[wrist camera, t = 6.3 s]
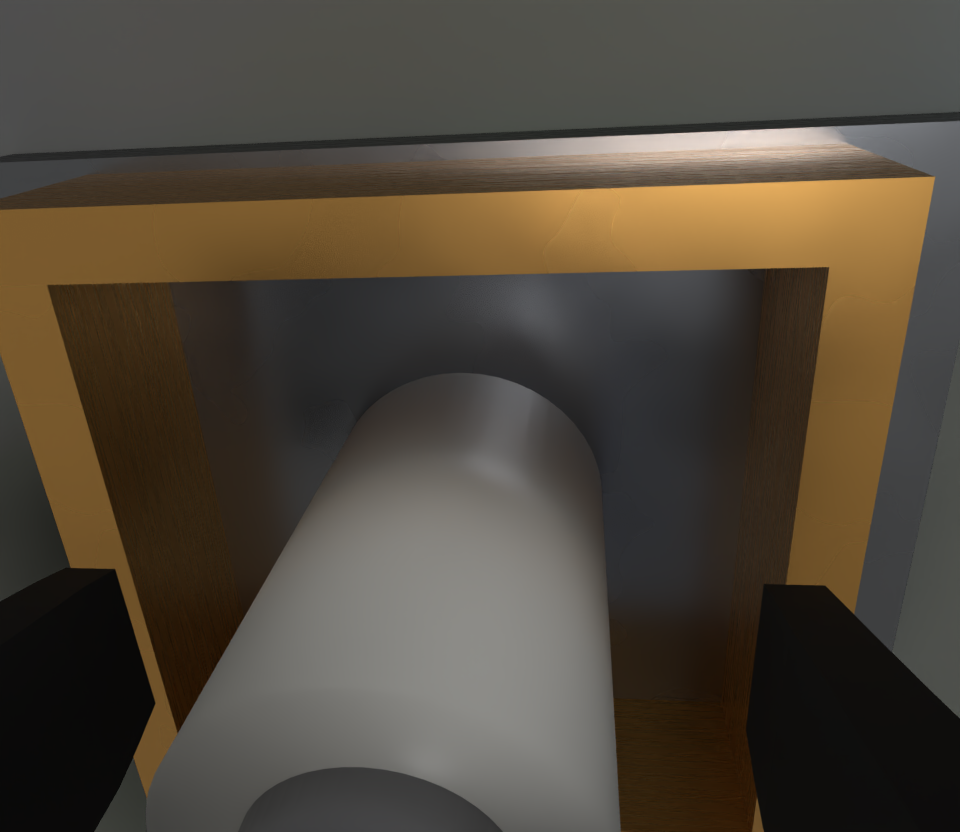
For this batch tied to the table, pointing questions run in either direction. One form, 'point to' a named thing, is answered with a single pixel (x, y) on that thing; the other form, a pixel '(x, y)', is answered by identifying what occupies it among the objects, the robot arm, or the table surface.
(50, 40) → the table surface
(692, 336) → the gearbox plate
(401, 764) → the canister
